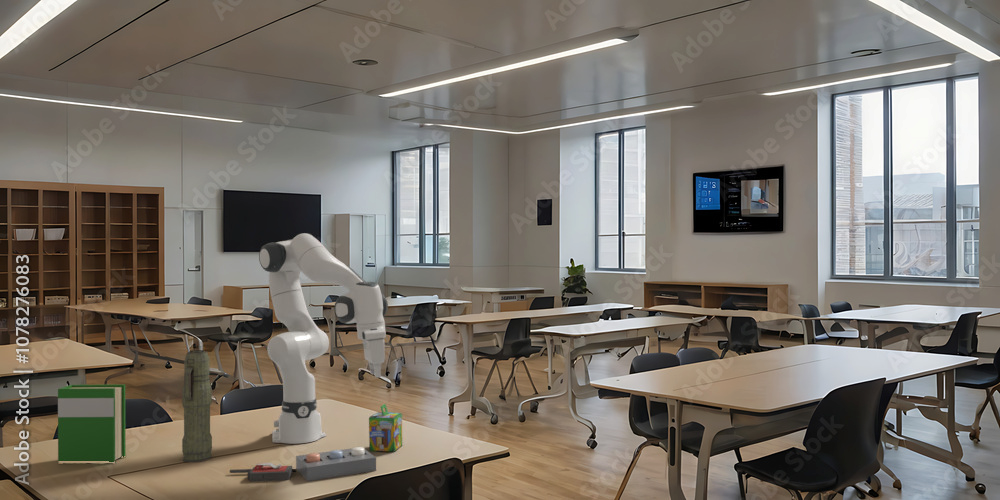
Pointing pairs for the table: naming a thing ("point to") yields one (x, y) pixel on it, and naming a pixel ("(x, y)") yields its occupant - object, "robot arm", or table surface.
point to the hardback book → (91, 422)
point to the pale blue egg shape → (335, 454)
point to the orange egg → (312, 457)
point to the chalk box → (385, 431)
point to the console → (335, 465)
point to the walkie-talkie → (267, 472)
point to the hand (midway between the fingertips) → (375, 375)
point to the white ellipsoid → (357, 451)
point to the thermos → (196, 407)
